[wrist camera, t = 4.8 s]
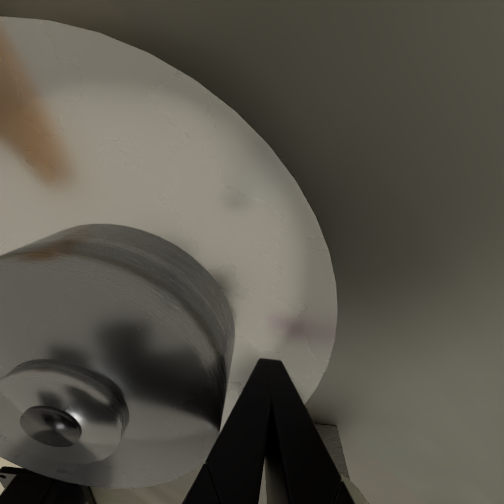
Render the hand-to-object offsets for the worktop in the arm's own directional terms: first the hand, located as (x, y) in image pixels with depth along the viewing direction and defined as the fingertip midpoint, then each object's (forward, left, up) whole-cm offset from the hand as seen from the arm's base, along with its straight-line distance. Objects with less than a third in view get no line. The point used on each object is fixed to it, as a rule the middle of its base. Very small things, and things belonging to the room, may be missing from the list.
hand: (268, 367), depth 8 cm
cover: (0, +5, -1) cm, 5 cm away
